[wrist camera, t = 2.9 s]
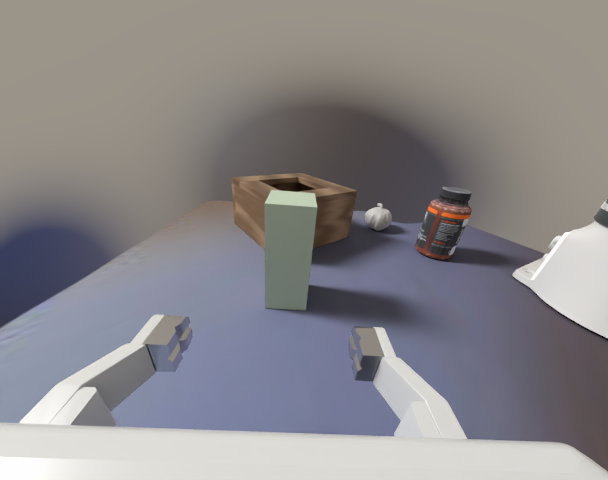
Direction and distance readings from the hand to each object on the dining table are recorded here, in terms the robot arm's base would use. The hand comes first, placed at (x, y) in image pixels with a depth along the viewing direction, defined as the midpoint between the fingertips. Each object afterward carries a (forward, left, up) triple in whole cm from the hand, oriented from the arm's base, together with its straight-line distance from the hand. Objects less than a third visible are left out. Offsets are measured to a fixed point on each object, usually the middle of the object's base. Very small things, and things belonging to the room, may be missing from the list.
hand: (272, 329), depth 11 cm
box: (-19, -25, -9) cm, 32 cm away
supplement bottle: (-36, -5, -9) cm, 37 cm away
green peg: (-8, -10, -9) cm, 15 cm away
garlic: (-36, -17, -9) cm, 40 cm away
